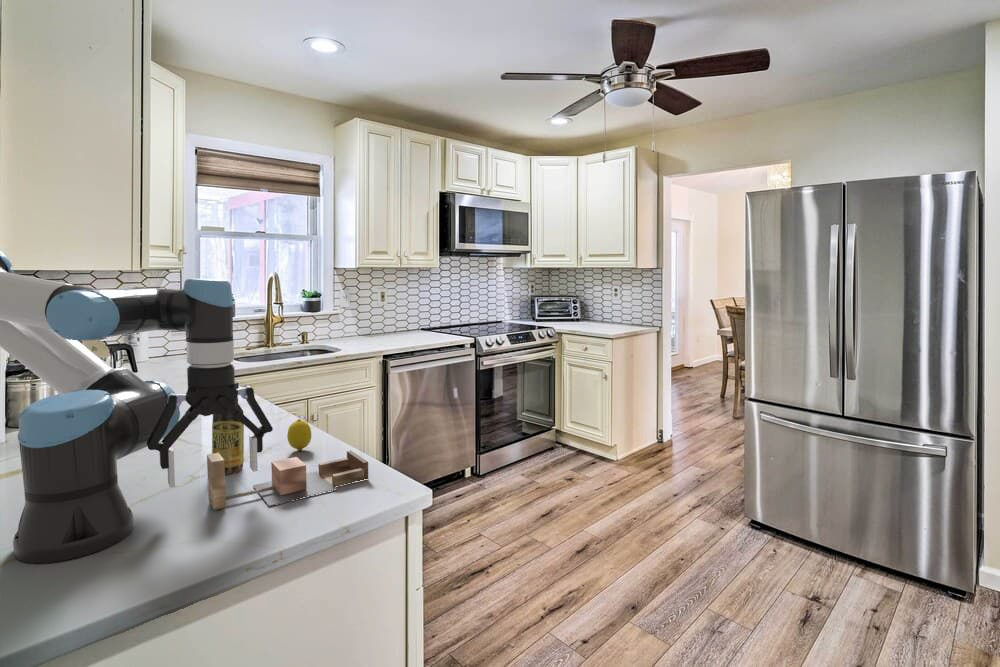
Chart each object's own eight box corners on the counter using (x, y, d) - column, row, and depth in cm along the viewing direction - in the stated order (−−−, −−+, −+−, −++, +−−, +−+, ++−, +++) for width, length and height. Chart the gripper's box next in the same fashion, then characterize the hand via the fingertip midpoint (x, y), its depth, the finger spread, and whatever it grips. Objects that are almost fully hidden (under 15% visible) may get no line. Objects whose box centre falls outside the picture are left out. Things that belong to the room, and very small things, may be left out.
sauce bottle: (209, 477, 112) (204, 385, 110) (216, 466, 118) (212, 380, 116) (242, 474, 114) (239, 384, 112) (248, 464, 120) (244, 379, 118)
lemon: (304, 445, 133) (303, 415, 132) (316, 450, 130) (315, 419, 129) (283, 451, 129) (282, 419, 128) (295, 456, 126) (294, 423, 125)
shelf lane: (348, 465, 120) (348, 448, 119) (371, 482, 110) (370, 463, 110) (253, 486, 107) (252, 467, 107) (269, 507, 98) (268, 486, 97)
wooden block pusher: (297, 479, 110) (296, 438, 109) (306, 489, 105) (305, 445, 104) (208, 499, 100) (206, 453, 99) (214, 511, 95) (212, 463, 94)
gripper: (277, 356, 106) (278, 458, 108) (125, 366, 90) (131, 484, 92) (288, 361, 100) (289, 469, 102) (128, 373, 84) (134, 499, 87)
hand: (214, 476), depth 97 cm, fingers open, 13 cm apart
